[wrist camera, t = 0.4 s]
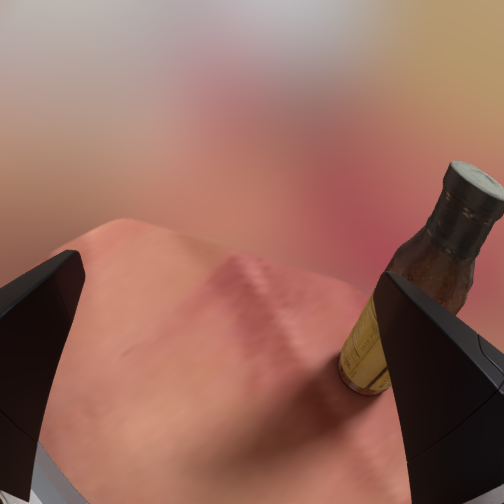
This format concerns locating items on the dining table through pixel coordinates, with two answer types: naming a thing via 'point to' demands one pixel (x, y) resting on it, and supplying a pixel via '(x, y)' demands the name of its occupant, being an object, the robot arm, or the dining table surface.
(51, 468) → the panel
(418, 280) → the sauce bottle
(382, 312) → the robot arm
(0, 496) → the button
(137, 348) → the dining table surface
